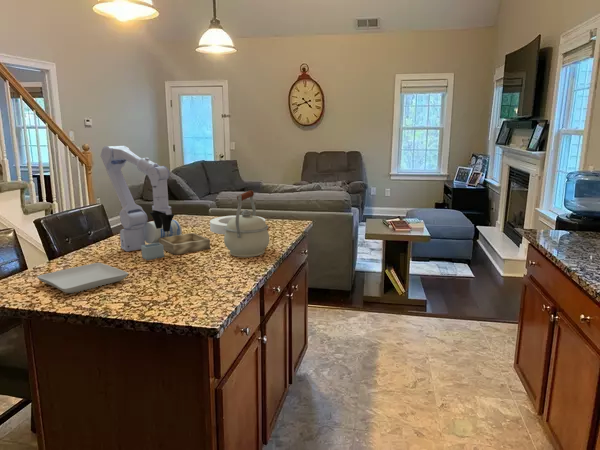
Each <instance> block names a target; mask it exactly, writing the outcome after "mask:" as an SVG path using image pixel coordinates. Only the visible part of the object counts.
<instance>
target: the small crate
mask: <svg viewBox="0 0 600 450" xmlns="http://www.w3.org/2000/svg"><path fill="white" fill-rule="evenodd" d="M140 250H141V258H142V259H144V260H145V259H146V260H145V261H152V260H156V258H157V259H162V257H163V258H165V250H164V246H163V245H162V244H160V243H153V244H152V243H150V244H149V243H147V244H146V243H145V245H141V249H140Z"/></svg>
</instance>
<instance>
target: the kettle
mask: <svg viewBox="0 0 600 450" xmlns="http://www.w3.org/2000/svg"><path fill="white" fill-rule="evenodd" d="M254 195H255V193H254V191H253V190H248V191H245V192H243V193H240V194H238V195H237V196H236V200H237V209H236V217H235V218H233V219H231V220H230V221H229V222H228V224H227V226H225V230H226V232H225V234H224V235H223V236H224V237H223V243H224V246H225V247H226V248H227V250H229V254H230V255H231V256H234V257H239V258H252V257H259V256H261V255H263V254H264V253H265V249H266V248H267V247H268V246H269V243H270V234H269V230H268V229H269V225H268V224H267V223H266V220H265V221H264V220H263V219H261V218H259V217H260V216H258V217H256V216H257V212H256V210H257V209H256V205H255V202H254ZM247 199H249V202H250V205H251V208H252V209H251V211H252V213H251V211H250V210H248V209H245V210H243V211H242V212H241V209H242V203H243V201H245V200H247ZM240 215H242V216H240Z"/></svg>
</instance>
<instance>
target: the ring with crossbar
mask: <svg viewBox="0 0 600 450" xmlns="http://www.w3.org/2000/svg"><path fill="white" fill-rule="evenodd" d="M240 216H242V214H240ZM235 217H236V215H226V216H225V215H224V216H219V217H213V218H212V219H210V220H209V227H210V232H211V233H213V234H219V235H225V232H226V230H225V226H227V224H228V222H229V221H230V220H231V219H233V218H235ZM256 217H259V218H261V219H263V220H264V221H265V222H266V218H264V217H263V216H258V215H256Z"/></svg>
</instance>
